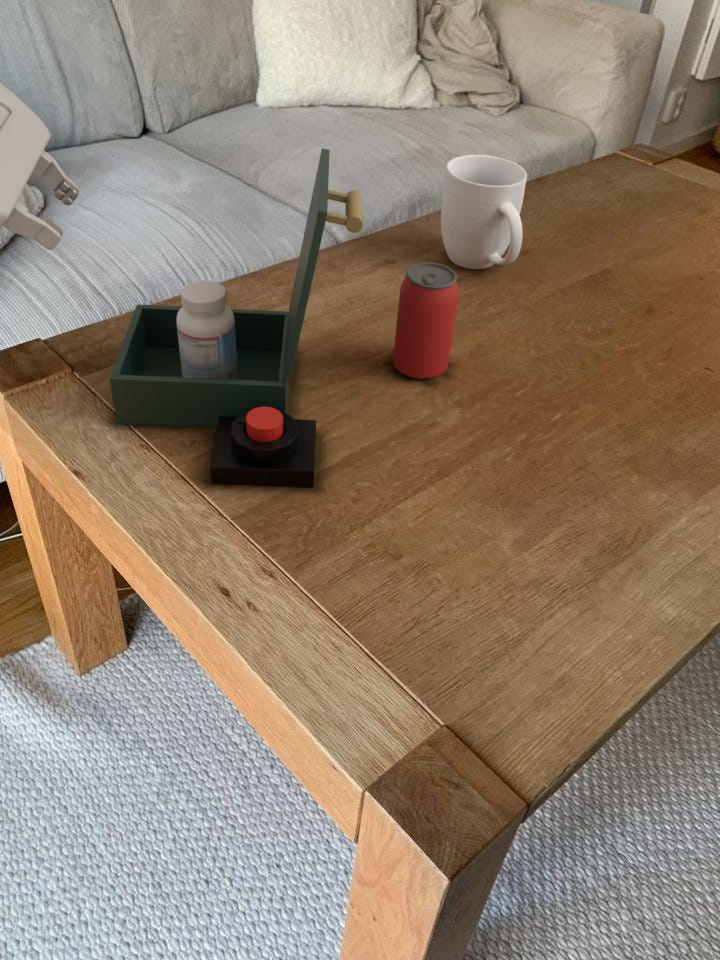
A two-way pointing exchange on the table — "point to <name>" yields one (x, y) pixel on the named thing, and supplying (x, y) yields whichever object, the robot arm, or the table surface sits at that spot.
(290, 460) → the control block
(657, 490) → the table surface
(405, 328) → the beer can
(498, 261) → the mug
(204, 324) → the pill bottle
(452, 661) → the table surface
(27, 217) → the robot arm
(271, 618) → the table surface
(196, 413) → the box
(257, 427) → the button
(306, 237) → the box lid
